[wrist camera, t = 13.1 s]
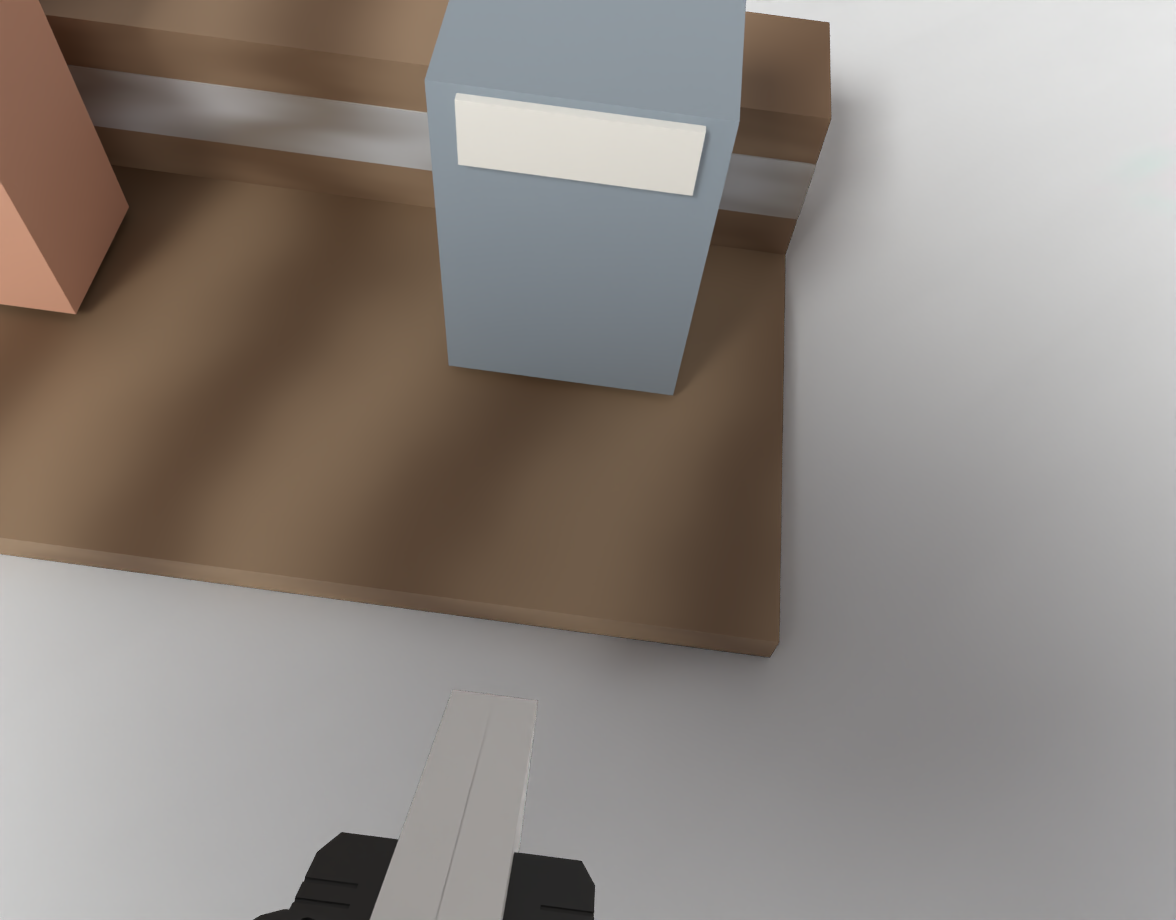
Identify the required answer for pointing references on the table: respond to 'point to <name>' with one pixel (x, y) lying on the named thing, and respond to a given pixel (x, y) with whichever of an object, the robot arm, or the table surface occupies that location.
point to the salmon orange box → (48, 172)
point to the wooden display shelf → (384, 348)
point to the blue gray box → (580, 180)
